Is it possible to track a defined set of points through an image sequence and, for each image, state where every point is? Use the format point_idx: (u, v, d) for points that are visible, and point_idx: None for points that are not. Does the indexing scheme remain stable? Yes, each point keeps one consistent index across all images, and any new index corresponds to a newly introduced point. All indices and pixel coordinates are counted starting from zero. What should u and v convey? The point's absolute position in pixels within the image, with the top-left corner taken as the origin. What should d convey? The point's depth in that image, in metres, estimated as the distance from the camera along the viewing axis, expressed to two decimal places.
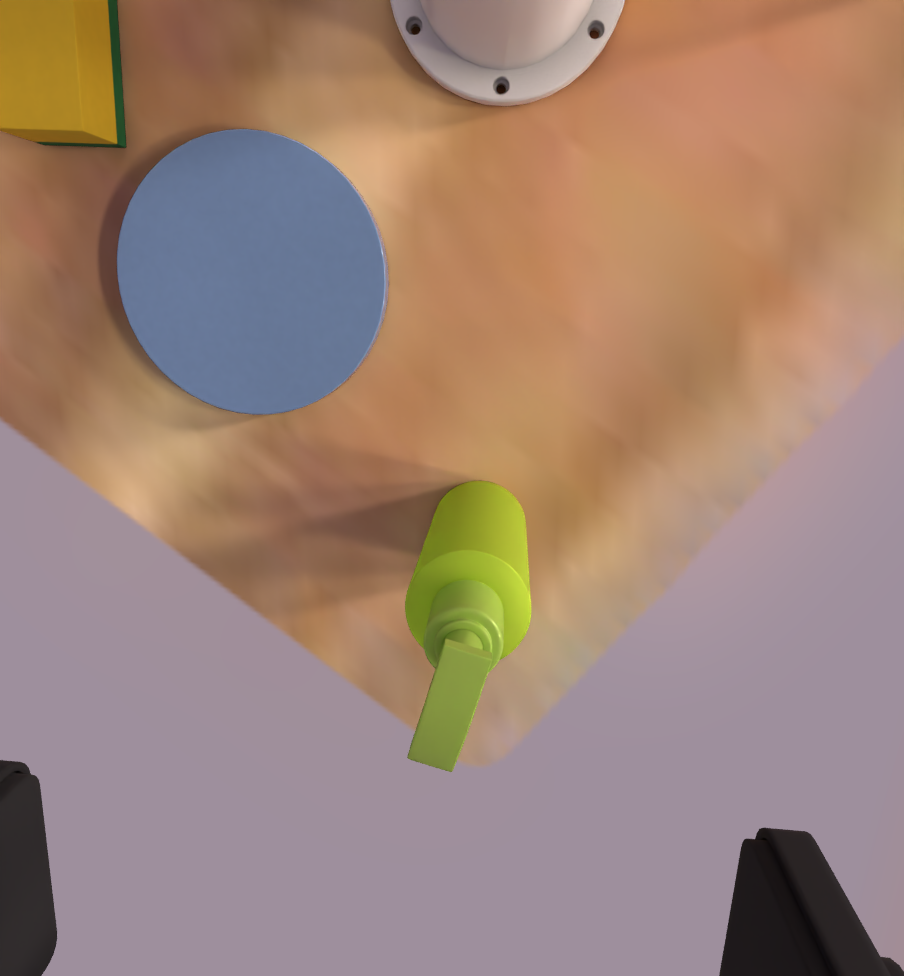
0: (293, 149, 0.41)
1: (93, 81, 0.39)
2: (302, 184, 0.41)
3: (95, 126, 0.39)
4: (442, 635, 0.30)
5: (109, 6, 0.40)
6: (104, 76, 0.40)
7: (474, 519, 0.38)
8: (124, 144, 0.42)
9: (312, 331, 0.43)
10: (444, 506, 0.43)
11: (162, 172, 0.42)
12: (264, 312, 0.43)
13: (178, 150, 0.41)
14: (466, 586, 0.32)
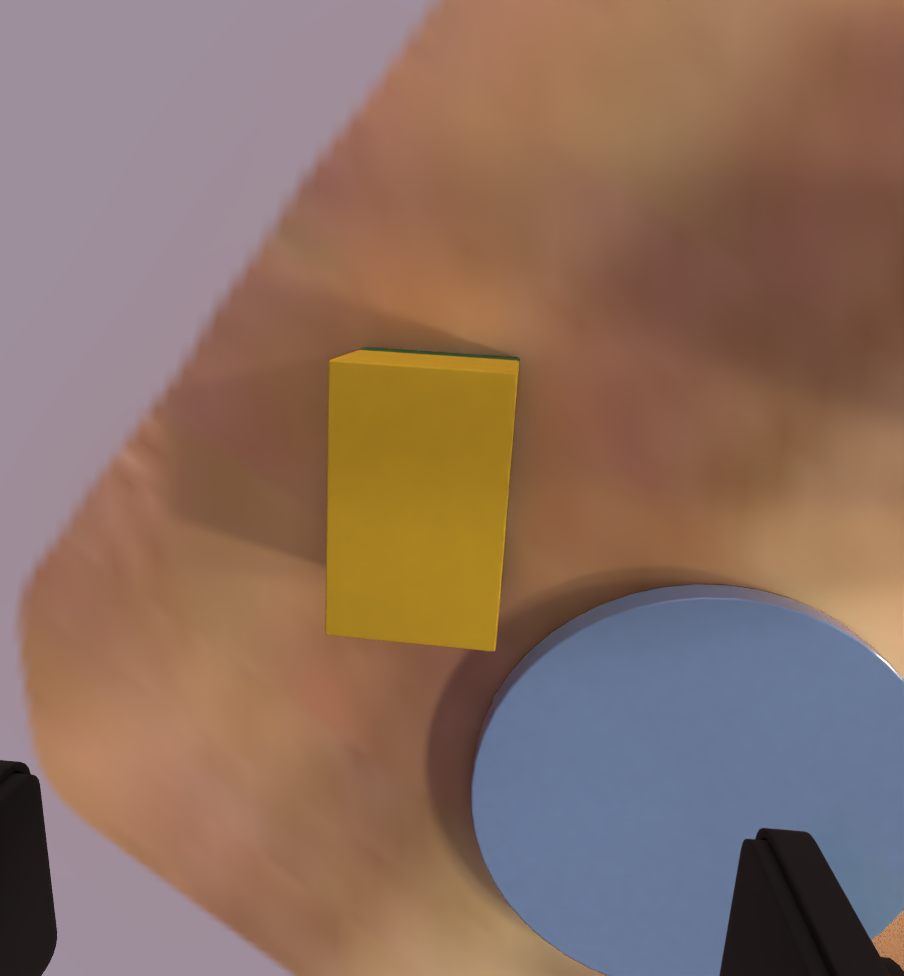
0: (818, 635, 0.23)
1: None
2: (825, 686, 0.24)
3: None
4: None
5: None
6: (506, 519, 0.23)
7: None
8: None
9: None
10: None
11: (575, 652, 0.24)
12: (717, 860, 0.26)
13: (609, 623, 0.24)
14: None
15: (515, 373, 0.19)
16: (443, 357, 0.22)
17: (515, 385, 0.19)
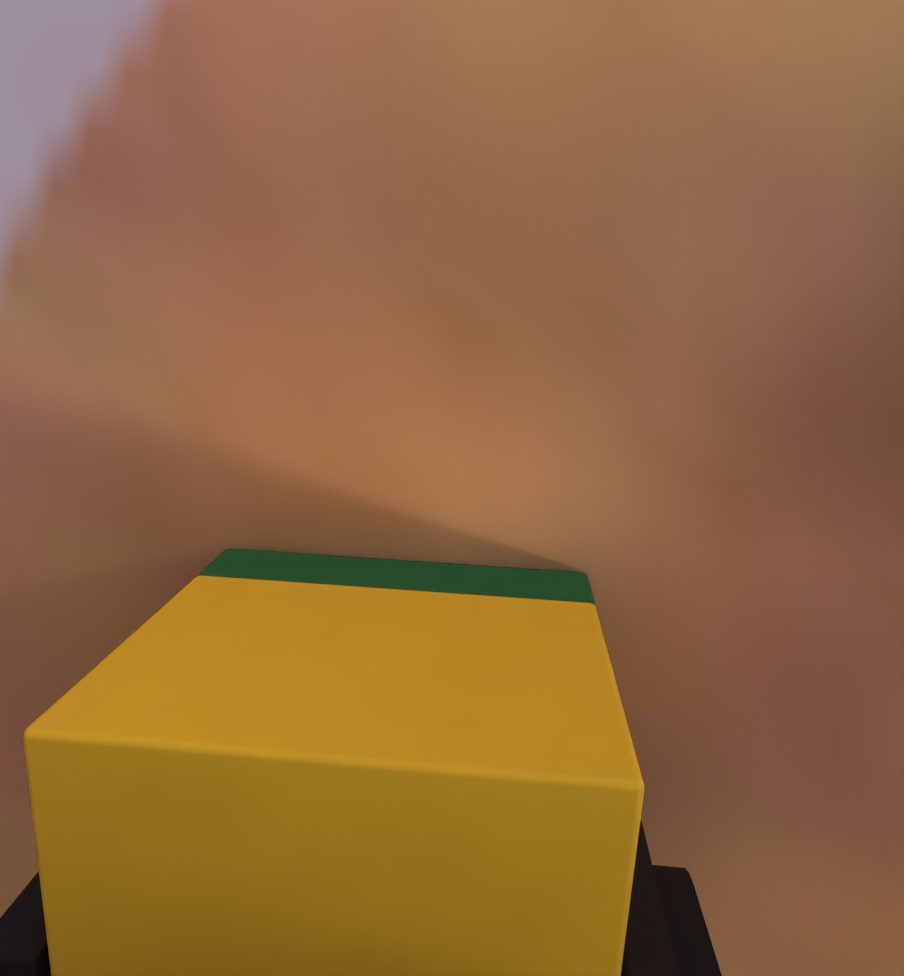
0: None
1: None
2: None
3: None
4: None
5: None
6: None
7: None
8: None
9: None
10: None
11: None
12: None
13: None
14: None
15: (638, 786, 0.06)
16: (405, 613, 0.08)
17: (637, 820, 0.06)
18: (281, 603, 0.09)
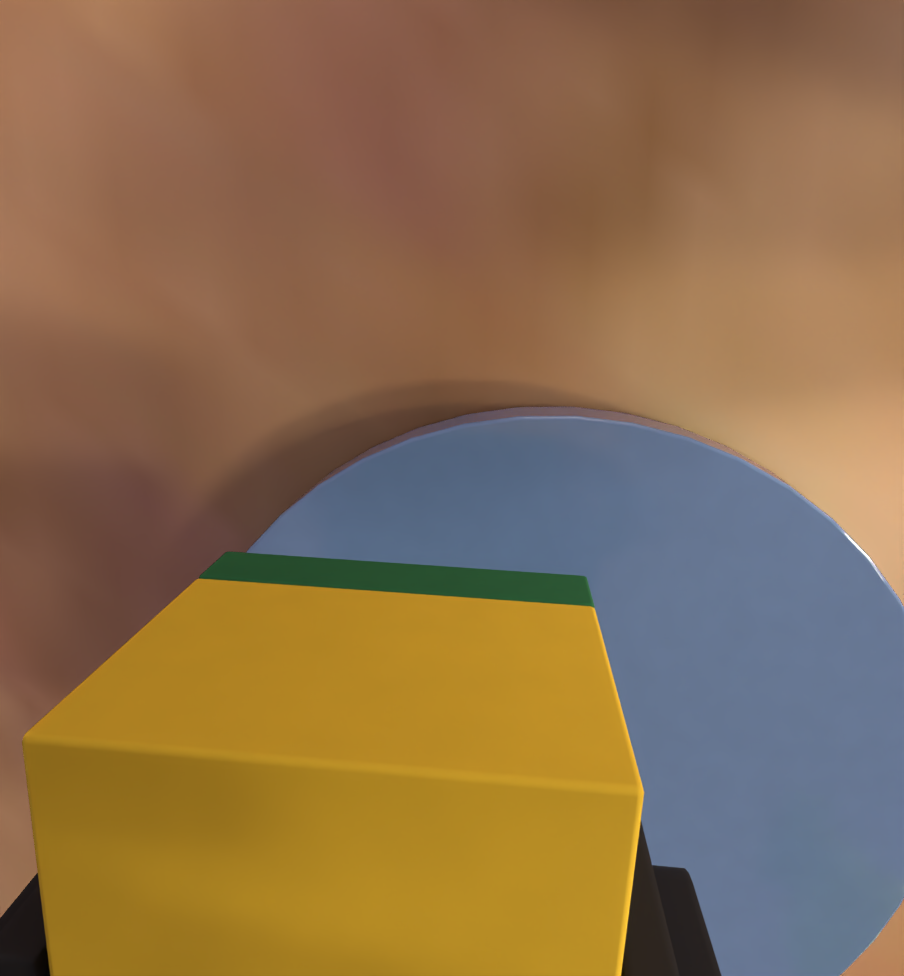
0: (717, 477, 0.14)
1: None
2: (733, 569, 0.14)
3: None
4: None
5: None
6: None
7: None
8: None
9: (704, 914, 0.16)
10: None
11: (317, 522, 0.15)
12: None
13: (367, 468, 0.14)
14: None
15: (638, 792, 0.06)
16: (404, 617, 0.08)
17: (637, 826, 0.06)
18: (281, 606, 0.09)
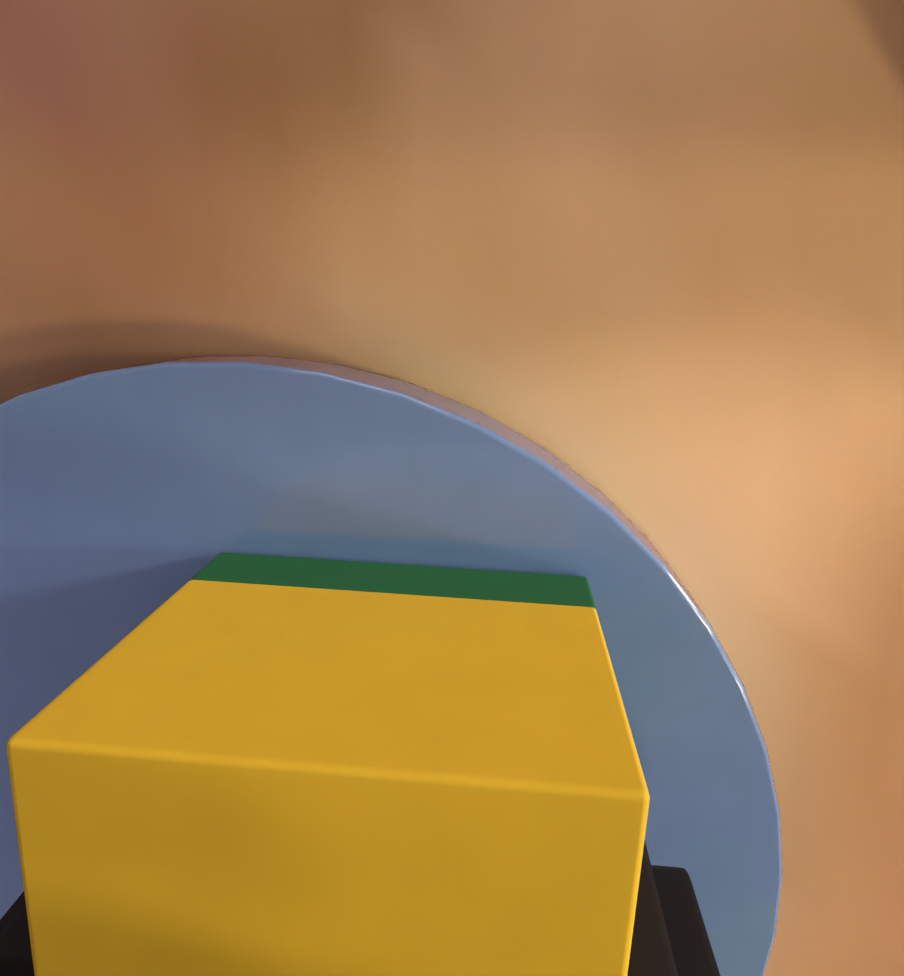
0: (445, 450, 0.10)
1: None
2: None
3: None
4: None
5: None
6: None
7: None
8: None
9: None
10: None
11: None
12: None
13: None
14: None
15: (644, 797, 0.05)
16: (402, 618, 0.08)
17: (642, 832, 0.06)
18: (275, 608, 0.08)
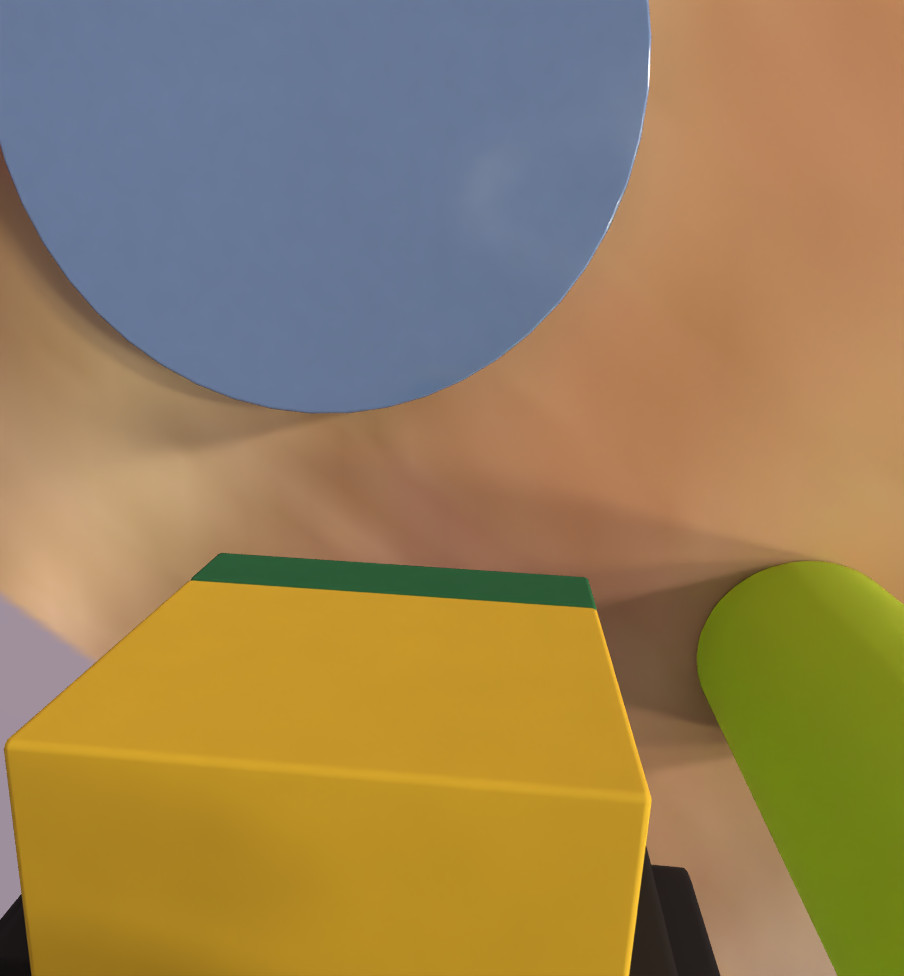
0: None
1: None
2: None
3: None
4: None
5: None
6: None
7: None
8: None
9: (458, 212, 0.18)
10: (784, 638, 0.18)
11: None
12: (341, 167, 0.18)
13: None
14: None
15: (645, 799, 0.05)
16: (402, 619, 0.08)
17: (644, 834, 0.05)
18: (275, 609, 0.08)
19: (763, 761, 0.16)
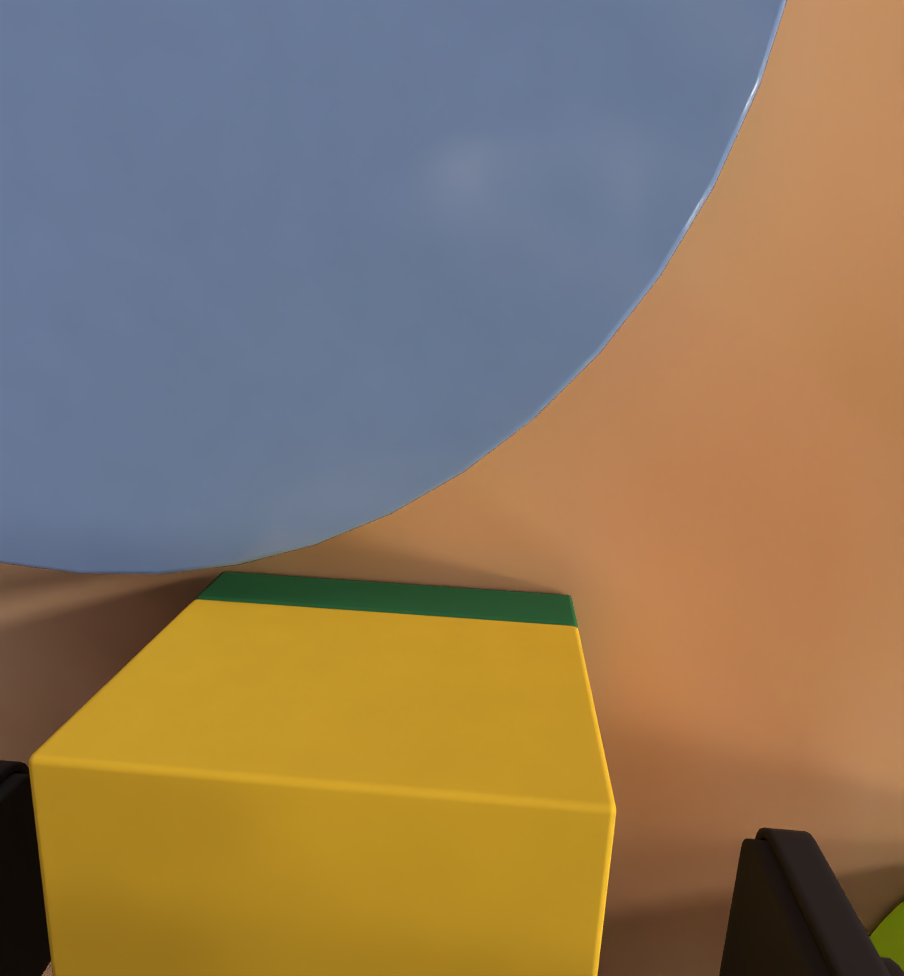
0: None
1: None
2: None
3: None
4: None
5: None
6: None
7: None
8: None
9: (374, 154, 0.08)
10: None
11: None
12: (108, 49, 0.08)
13: None
14: None
15: (610, 810, 0.06)
16: (394, 638, 0.09)
17: (609, 842, 0.06)
18: (275, 627, 0.09)
19: None
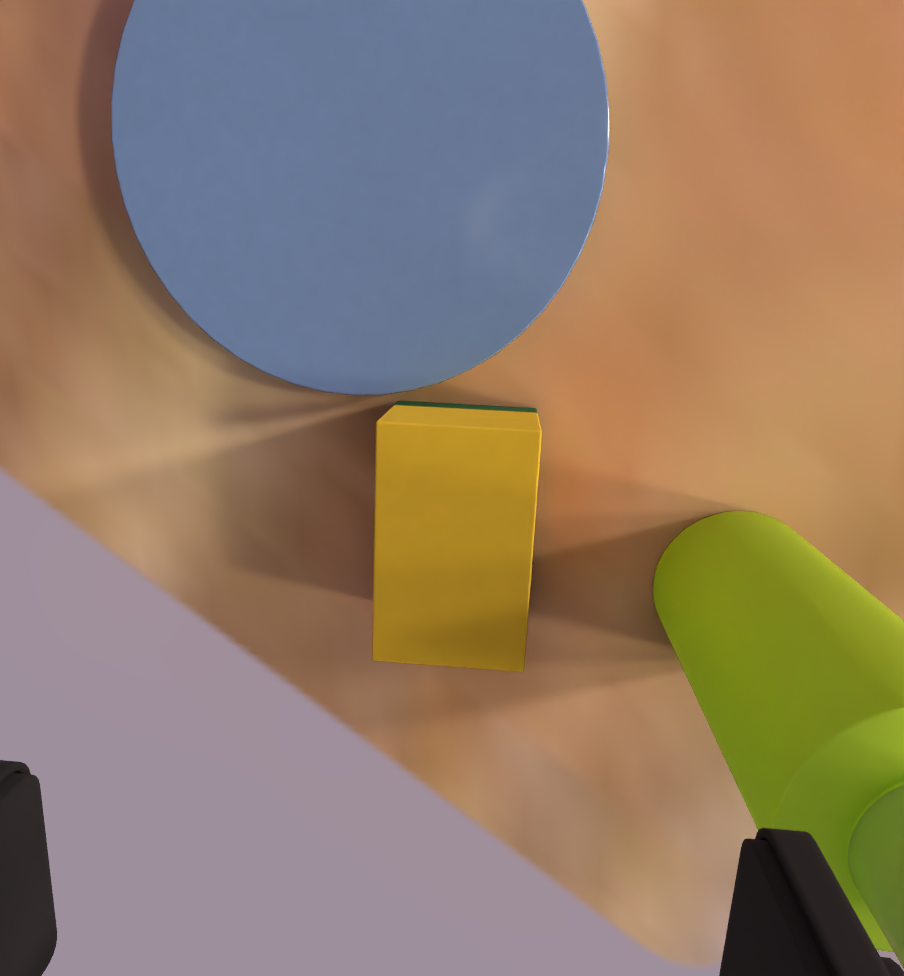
0: None
1: None
2: None
3: None
4: None
5: None
6: None
7: (845, 603, 0.18)
8: None
9: (467, 243, 0.24)
10: (711, 561, 0.23)
11: None
12: (379, 209, 0.24)
13: None
14: None
15: (540, 431, 0.22)
16: (471, 412, 0.25)
17: (540, 441, 0.22)
18: (428, 409, 0.25)
19: (691, 645, 0.22)
